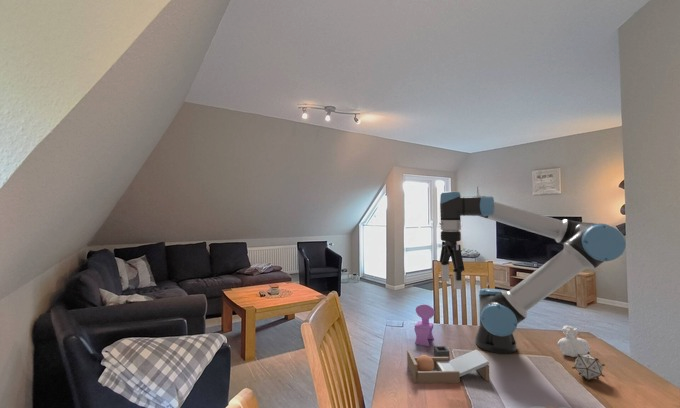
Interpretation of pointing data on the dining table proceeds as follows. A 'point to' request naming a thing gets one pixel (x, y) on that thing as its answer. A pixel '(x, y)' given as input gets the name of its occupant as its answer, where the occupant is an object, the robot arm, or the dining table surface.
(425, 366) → the ball
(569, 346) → the bust
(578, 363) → the game die
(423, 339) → the toy chair
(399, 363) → the dining table surface
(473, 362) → the ramp with walled tray
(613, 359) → the dining table surface
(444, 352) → the square sleeve
